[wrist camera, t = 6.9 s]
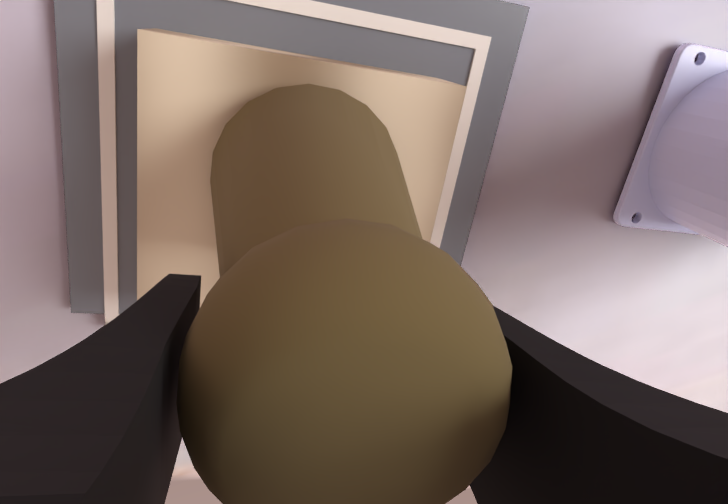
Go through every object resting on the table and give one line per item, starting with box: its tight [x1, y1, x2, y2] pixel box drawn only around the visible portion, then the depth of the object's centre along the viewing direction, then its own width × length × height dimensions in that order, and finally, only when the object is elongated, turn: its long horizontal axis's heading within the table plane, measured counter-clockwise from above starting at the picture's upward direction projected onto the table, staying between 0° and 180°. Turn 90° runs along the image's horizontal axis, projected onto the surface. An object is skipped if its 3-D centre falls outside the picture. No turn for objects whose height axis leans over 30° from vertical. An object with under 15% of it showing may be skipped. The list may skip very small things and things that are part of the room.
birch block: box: [137, 28, 467, 307], centre depth 18 cm, size 10×10×3 cm
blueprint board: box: [54, 0, 530, 325], centre depth 20 cm, size 16×15×1 cm
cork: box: [176, 84, 512, 504], centre depth 11 cm, size 6×6×11 cm
